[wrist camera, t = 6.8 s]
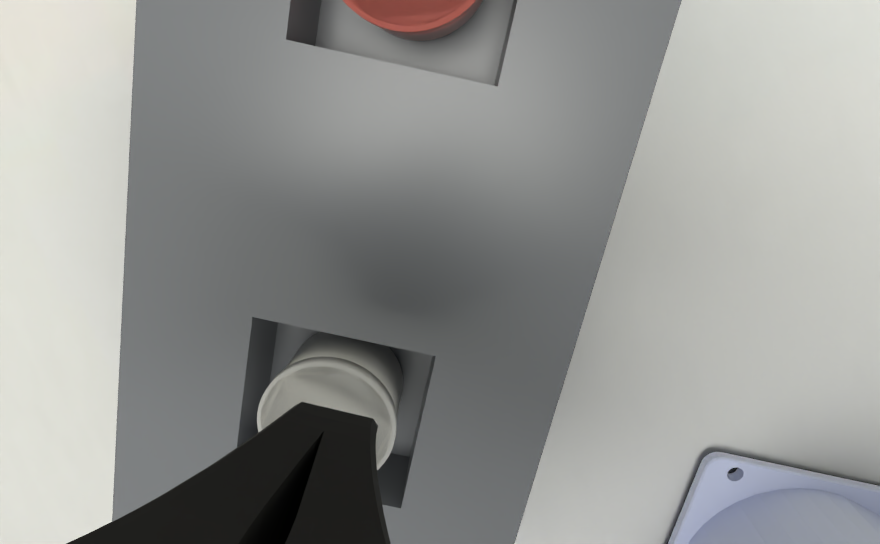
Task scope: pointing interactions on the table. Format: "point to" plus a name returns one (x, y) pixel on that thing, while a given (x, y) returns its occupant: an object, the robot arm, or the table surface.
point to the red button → (416, 16)
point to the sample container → (340, 384)
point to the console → (373, 230)
